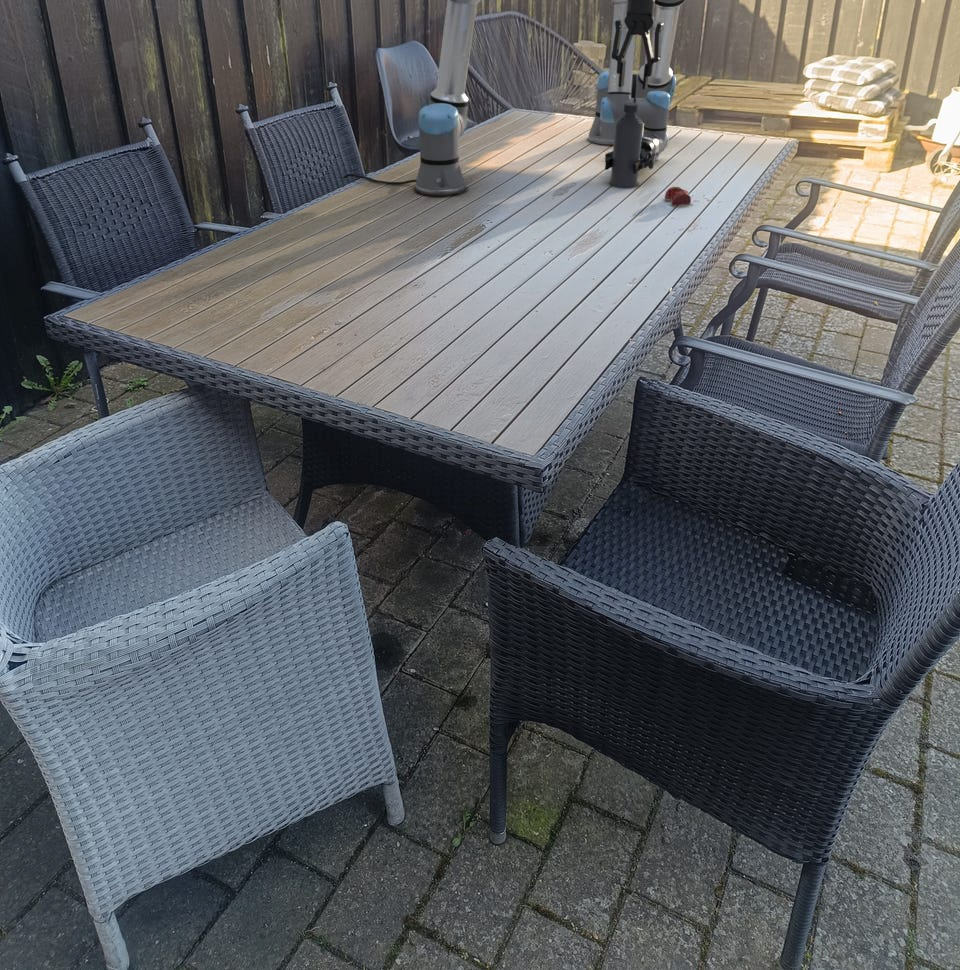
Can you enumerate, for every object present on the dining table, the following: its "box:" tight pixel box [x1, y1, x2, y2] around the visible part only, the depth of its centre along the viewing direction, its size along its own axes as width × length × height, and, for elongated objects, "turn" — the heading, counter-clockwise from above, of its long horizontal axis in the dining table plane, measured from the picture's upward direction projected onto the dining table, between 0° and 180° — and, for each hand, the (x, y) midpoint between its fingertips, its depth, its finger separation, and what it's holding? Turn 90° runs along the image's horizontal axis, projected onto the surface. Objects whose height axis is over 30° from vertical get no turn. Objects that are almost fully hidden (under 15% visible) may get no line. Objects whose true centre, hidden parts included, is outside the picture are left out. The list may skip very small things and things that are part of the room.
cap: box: [623, 103, 639, 113], centre depth 251 cm, size 4×4×2 cm
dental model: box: [664, 186, 692, 206], centre depth 247 cm, size 6×4×8 cm
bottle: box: [609, 112, 644, 189], centre depth 257 cm, size 8×8×23 cm
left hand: (632, 87), depth 247 cm, fingers open, 7 cm apart
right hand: (620, 167), depth 257 cm, fingers closed on bottle, 8 cm apart
